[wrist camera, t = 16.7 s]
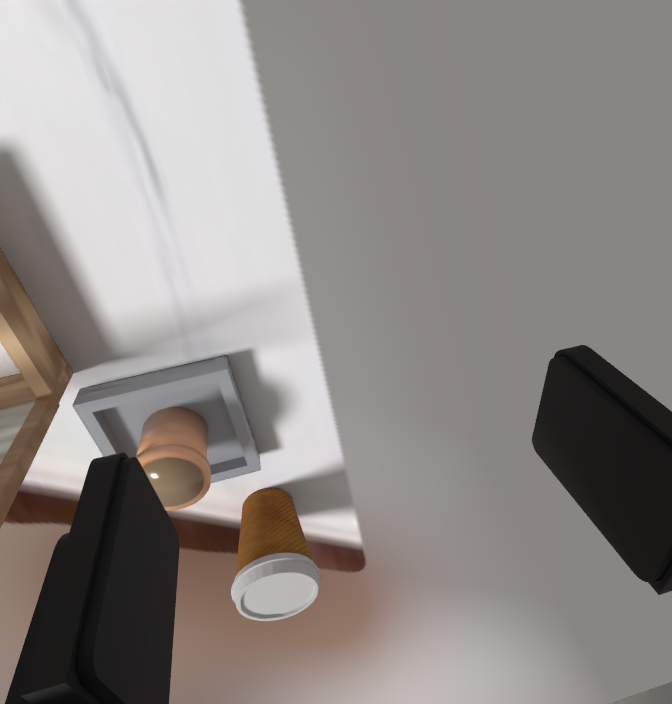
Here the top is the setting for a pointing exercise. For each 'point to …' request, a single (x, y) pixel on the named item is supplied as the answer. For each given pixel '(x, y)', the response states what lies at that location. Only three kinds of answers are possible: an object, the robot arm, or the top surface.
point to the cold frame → (25, 384)
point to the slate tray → (174, 391)
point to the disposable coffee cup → (273, 559)
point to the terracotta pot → (175, 456)
